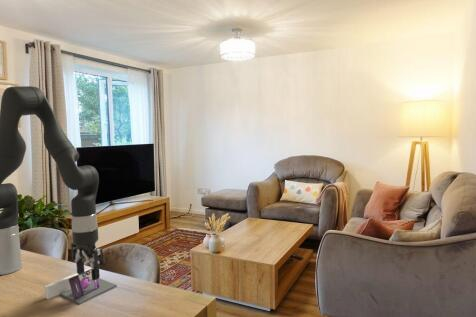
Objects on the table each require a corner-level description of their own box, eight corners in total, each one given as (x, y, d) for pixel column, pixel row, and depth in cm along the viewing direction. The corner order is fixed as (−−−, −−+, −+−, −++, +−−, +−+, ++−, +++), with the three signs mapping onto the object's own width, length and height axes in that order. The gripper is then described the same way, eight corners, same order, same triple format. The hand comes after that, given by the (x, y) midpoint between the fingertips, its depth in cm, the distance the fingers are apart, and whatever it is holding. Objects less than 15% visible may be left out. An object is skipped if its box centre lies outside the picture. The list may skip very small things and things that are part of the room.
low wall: (45, 298, 103) (44, 285, 103) (92, 278, 116) (91, 267, 116) (47, 299, 102) (46, 287, 102) (94, 279, 115) (94, 268, 115)
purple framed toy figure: (70, 278, 100) (95, 267, 108) (60, 281, 102) (85, 269, 110) (76, 300, 99) (101, 287, 107) (66, 301, 102) (91, 289, 110)
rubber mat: (60, 295, 105) (60, 293, 105) (97, 279, 115) (97, 277, 115) (79, 304, 98) (79, 302, 98) (116, 286, 109) (116, 285, 109)
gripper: (61, 227, 106) (65, 275, 107) (86, 234, 98) (90, 286, 100) (83, 221, 112) (86, 267, 114) (108, 228, 104) (111, 276, 106)
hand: (88, 276), depth 107 cm, fingers open, 8 cm apart
